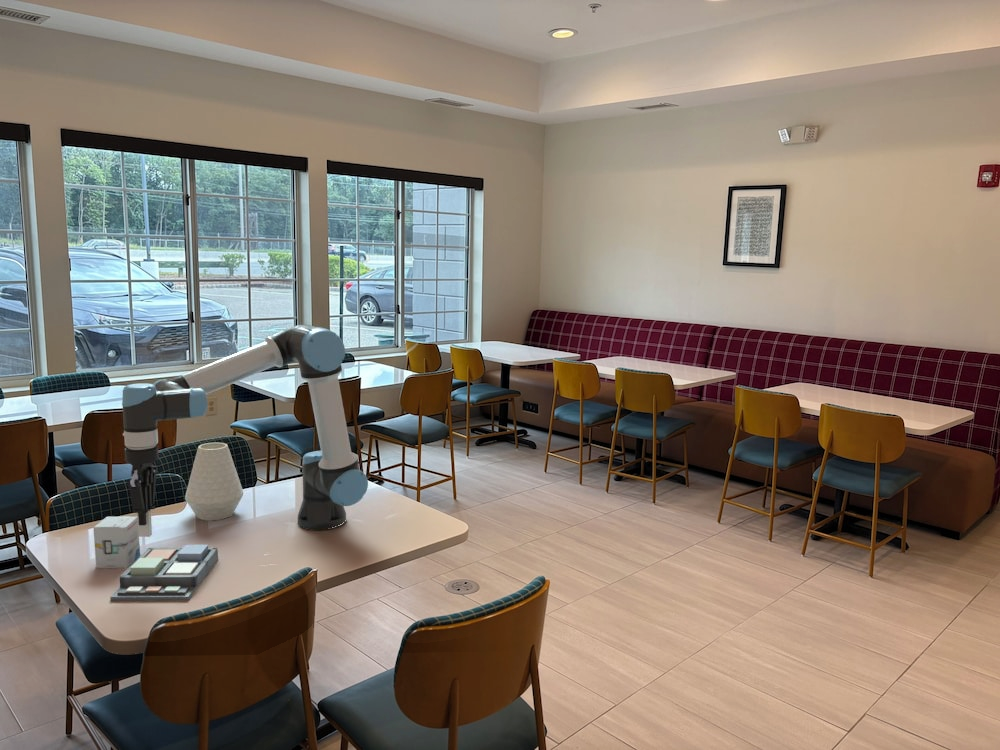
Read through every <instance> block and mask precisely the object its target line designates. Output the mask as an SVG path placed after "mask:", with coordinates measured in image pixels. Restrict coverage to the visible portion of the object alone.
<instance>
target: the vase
mask: <svg viewBox="0 0 1000 750" xmlns="http://www.w3.org/2000/svg"><path fill="white" fill-rule="evenodd" d="M238 475H239V474H238V472H237V469H236V467H235V463H234V460H233V458H232V454H231V451H230V448H229V446H228V444H227V443H225V442H208V443H206V442H205V443H202V444H200V445H198V447H197V450H196V454H195V458H194V461H193V465H192V468H191V473H190V477H189V481H188V485H187V488H186V492H185V494H184V495H185V496H184V499H185V501H186V503H187V505H188V506H189V507H190V509H191V510H192V512H193V513H194V514H195V517H196V518H197V519H198V520H201V521H207V522H208V521H209V522H213V521H212V520H216V521H221V520H220V519H222V520H225V519H224V518H226V519H228V518H230V517H232V516H233V515H234V513H235V511H236V509H237V508H238V506H239V503H240V502H241V500H242V499H243V496H244V490H243V487H242V484H241V480H240V478H239V476H238ZM231 515H232V516H231ZM229 516H230V517H229ZM227 517H228V518H227Z"/></svg>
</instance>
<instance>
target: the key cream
mask: <svg viewBox="0 0 1000 750" xmlns="http://www.w3.org/2000/svg"><path fill="white" fill-rule="evenodd" d="M197 568H198V563H174V564H173V565H172V566H171V567H170V568H169V570H168V571H167V572H166V575H192V574H193V573H194V572H195V571H196V569H197Z"/></svg>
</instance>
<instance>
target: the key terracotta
mask: <svg viewBox="0 0 1000 750" xmlns="http://www.w3.org/2000/svg"><path fill="white" fill-rule="evenodd" d="M175 554H176V550H152V551H151V552H150V553H149V554H148V555H147V556H146V557H145V558H164V561H170V560H171V559H172V557H173V556H174V555H175Z"/></svg>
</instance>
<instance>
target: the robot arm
mask: <svg viewBox="0 0 1000 750" xmlns="http://www.w3.org/2000/svg"><path fill="white" fill-rule="evenodd" d="M345 356H346V347H345V344H344V341H343V340H342V338H341V337H340V336H339V335H338V334H337V333H336V332H334V331H332V330H331V329H328V328H325V327H321V326H313V325H311V324H310V325H309V324H298V325H295V326H291V327H289V328H286V329H284V330H281V331H279V332H277V333H273V334H272V335H268V336H267V337H265V339H264V340H263V342H261V343H259V344H256V345H254V346H250V347H249V348H246V349H243V350H241V351H238V352H236V353H233V354H231V355H228V356H226V357H223V358H221V359H218V360H216V361H214V362H211V363H208V364H207V365H204V366H201V367H199V368H196V369H193V370H191V371H188V372H185V373H183V374H181V375H178V376H176V377H173V378H170V379H166V378H165V379H158V380H156V381H155V382H154V383H147V382H145V383H142V382H141V383H132V384H127V385H126V386H124V387H123V389H122V403H121V407H122V417H123V418H122V419H123V433H122V436H123V437H124V439H123V440H124V446H125V448H124V461H125V462H126V463H127V464H130V465H131V466H132V467H131V472H130V473H131V474H130V475H131V478H128V479H127V480H126V484H127V486H128V490H129V495H130V501H131V506H132V513H134V514H137V517H138V534H139V538H140V537H142V538H143V537H144V538H146V537H148V538H149V537H151V536H152V535H153V531H152V530H153V529H152V528H153V527H152V510H155V508H156V505H155V501H156V500H155V499H156V498H155V497H156V484H157V481H156V480H157V472H158V466H157V465H154V464H153V463H156V461H158V460H159V446H158V445H157V444H158V443H159V431H158V421H170V420H171V421H173V420H183V419H193V418H197V417H202V416H205V415H206V413H207V412H208V397H207V395H208V394H211V393H213V392H216V391H218V390H220V389H222V388H225V387H228V386H230V385H232V384H235V383H237V382H240V381H242V380H244V379H247V378H249V377H252V376H254V375H258V374H260V373H262V372H263V371H266V370H269V369H271V368H274V367H277V368H282V367H285V366H287V365H292V364H298V366H299V371H300V376H301V379H303V380H305V381H306V382H307V383H308V389H309V395H310V400H311V405H312V410H313V414H314V420H315V427H316V431H317V436H318V441H319V446H320V447H319V448H320V450H316V451H315V450H314V451H311V452H310V451H309V452H307V453H305V454H304V455H302V456H303V457H302V464H301V467H302V502H301V505H300V507H299V510H298V513H297V525H298V524H299V525H300V526H302V527H304V528H303V529H305V528H308V529H307V530H310V529H315V530H314V531H321V530H320V529H327V530H329V529H328V528H332V527H335V526H338V525H340V524H342V523H343V522H345V520H346V521H347V512H346V510H345V507H350V506H353V505H356V504H357V503H359V502H360V501H361V500H362V499H363V497H364V496H365V495H366V493H367V492H368V487H369V480H368V477H367V475H366V474H365V472H364V471H362V470H361V469H360V464H359V459H358V455H357V454H356V453H355V452H352V448H351V443H350V437H349V432H348V426H347V421H346V414H345V409H344V405H343V403H344V402H343V399H342V398H343V397H342V392H341V387H340V381H339V376H340V374H341V373H342V372H343V368H342V367H343V366H342V363H343V361H344V359H345ZM345 523H346V522H345ZM299 525H298V526H299ZM300 526H299V527H300ZM302 527H301V528H302Z"/></svg>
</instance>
